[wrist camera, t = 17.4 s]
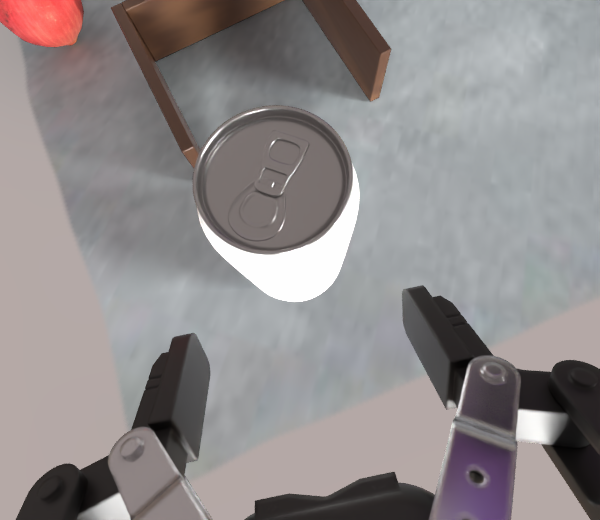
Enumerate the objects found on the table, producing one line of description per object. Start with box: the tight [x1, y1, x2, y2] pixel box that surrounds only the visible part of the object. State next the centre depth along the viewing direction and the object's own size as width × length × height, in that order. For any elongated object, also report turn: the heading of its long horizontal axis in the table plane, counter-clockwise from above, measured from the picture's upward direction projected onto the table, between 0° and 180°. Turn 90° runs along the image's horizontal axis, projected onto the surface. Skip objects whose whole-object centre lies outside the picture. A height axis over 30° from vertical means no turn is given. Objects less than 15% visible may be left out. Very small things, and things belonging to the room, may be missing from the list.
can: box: [193, 105, 359, 302], centre depth 18 cm, size 6×6×12 cm
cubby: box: [111, 0, 391, 168], centre depth 25 cm, size 15×13×4 cm
